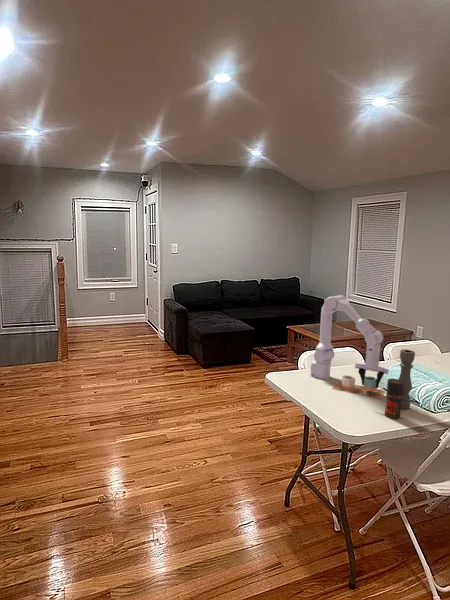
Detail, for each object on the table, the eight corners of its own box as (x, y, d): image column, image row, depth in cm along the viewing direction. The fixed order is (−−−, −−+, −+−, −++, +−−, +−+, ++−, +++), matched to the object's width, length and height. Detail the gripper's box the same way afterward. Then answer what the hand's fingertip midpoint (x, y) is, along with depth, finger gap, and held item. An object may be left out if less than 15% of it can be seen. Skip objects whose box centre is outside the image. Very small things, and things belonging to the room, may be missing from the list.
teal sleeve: (362, 389, 188) (363, 379, 188) (365, 385, 193) (365, 375, 192) (374, 392, 186) (375, 381, 185) (377, 388, 190) (378, 377, 189)
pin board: (331, 391, 193) (332, 380, 192) (338, 383, 203) (339, 373, 202) (380, 402, 182) (381, 390, 181) (385, 393, 192) (386, 382, 191)
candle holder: (409, 405, 179) (414, 350, 175) (410, 411, 173) (416, 354, 169) (393, 403, 181) (399, 348, 177) (394, 408, 175) (400, 352, 171)
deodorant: (382, 412, 171) (385, 378, 168) (395, 412, 171) (399, 378, 169) (388, 419, 165) (392, 384, 162) (402, 419, 165) (406, 383, 163)
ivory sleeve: (340, 388, 194) (341, 378, 193) (343, 384, 199) (344, 374, 198) (352, 390, 191) (353, 380, 190) (355, 387, 196) (356, 377, 195)
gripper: (354, 356, 187) (352, 385, 189) (387, 362, 180) (385, 392, 182) (358, 353, 193) (355, 380, 195) (390, 358, 186) (387, 387, 188)
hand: (370, 385), depth 189 cm, fingers closed on teal sleeve, 6 cm apart
